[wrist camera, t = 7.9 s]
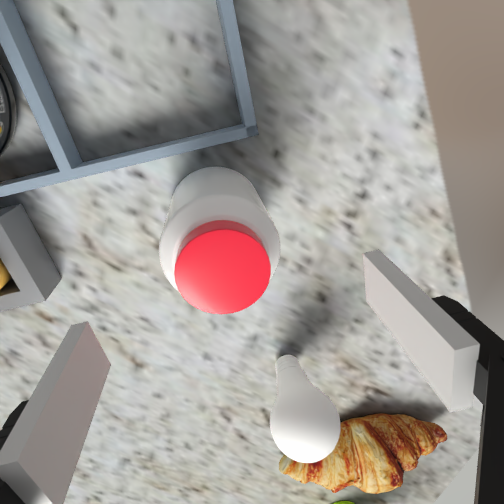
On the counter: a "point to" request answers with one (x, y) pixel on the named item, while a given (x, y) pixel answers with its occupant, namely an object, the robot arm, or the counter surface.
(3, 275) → the button
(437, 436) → the croissant
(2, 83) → the supplement container
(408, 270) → the counter surface
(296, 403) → the lightbulb
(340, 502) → the soap dispenser
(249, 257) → the pill bottle
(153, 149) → the frame
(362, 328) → the counter surface
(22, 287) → the grey egg holder
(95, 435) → the counter surface
